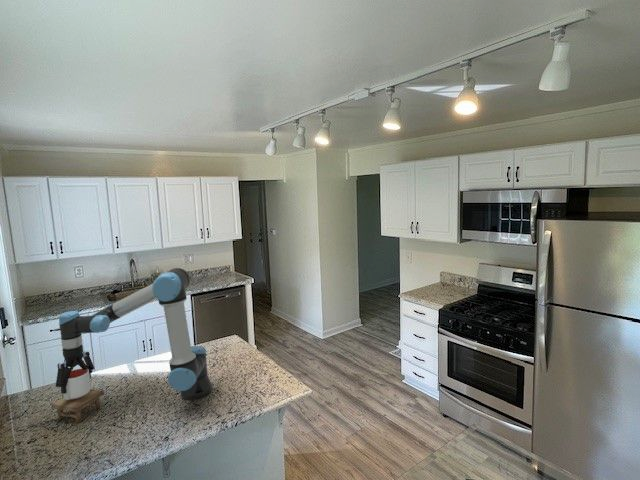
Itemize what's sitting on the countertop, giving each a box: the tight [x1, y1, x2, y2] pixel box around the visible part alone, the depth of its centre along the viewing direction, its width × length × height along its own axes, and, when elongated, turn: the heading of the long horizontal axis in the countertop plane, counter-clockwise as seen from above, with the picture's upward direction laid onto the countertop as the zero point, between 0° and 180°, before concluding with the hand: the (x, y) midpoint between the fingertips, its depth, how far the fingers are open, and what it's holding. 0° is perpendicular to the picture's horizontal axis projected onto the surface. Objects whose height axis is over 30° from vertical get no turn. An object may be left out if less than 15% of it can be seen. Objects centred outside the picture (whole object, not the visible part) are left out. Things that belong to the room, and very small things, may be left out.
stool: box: [51, 388, 105, 424], centre depth 161 cm, size 14×14×8 cm
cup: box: [67, 368, 92, 399], centre depth 160 cm, size 10×10×10 cm
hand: (77, 392), depth 160 cm, fingers closed on cup, 10 cm apart
